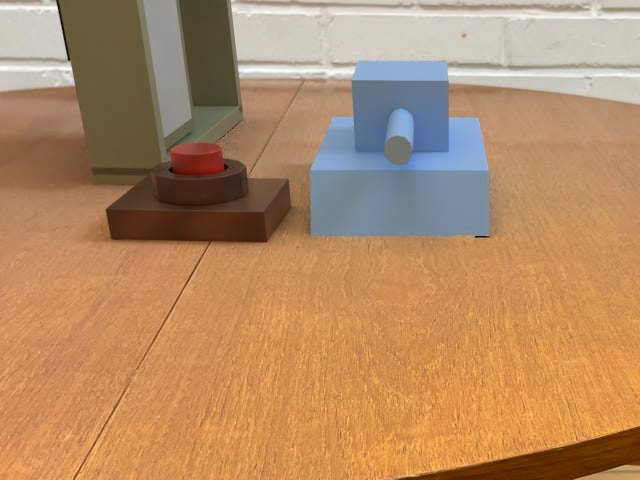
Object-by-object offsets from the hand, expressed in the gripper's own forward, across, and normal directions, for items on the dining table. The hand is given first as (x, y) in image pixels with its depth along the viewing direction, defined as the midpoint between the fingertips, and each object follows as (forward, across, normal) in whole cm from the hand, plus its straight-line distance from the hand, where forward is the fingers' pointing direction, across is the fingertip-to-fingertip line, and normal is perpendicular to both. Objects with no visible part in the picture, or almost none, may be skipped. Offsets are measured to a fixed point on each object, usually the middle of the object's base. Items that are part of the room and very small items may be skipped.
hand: (88, 57), depth 90 cm
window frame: (+7, -2, -8) cm, 11 cm away
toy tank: (+8, -18, -31) cm, 37 cm away
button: (+4, -26, -17) cm, 32 cm away
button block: (+7, -26, -17) cm, 32 cm away
